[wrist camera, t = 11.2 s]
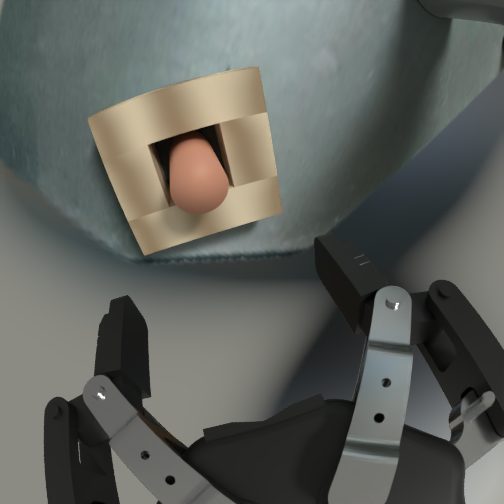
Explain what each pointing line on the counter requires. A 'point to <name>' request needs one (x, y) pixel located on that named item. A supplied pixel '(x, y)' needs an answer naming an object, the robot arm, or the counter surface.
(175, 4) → the counter surface
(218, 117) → the socket block
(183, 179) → the peg
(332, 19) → the counter surface
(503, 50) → the counter surface
